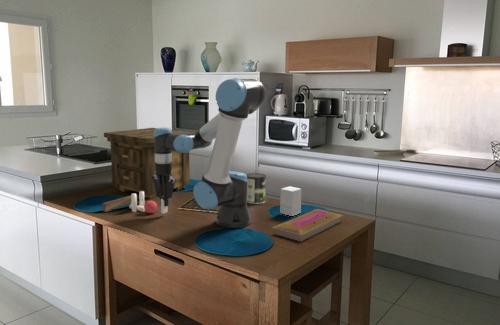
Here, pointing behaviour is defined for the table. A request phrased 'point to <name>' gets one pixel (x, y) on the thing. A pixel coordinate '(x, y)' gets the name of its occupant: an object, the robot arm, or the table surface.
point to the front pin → (138, 208)
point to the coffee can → (256, 188)
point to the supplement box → (290, 201)
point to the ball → (150, 206)
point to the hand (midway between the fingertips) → (164, 212)
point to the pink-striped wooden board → (305, 220)
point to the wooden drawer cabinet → (142, 161)
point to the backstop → (116, 203)
